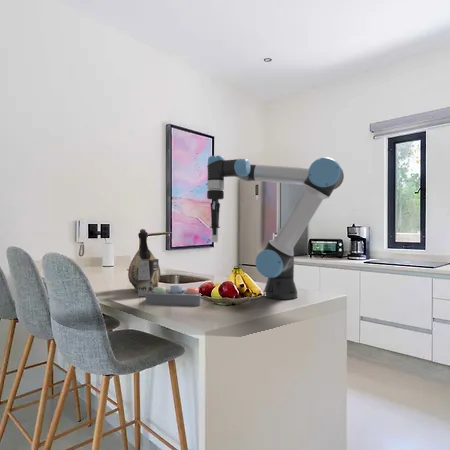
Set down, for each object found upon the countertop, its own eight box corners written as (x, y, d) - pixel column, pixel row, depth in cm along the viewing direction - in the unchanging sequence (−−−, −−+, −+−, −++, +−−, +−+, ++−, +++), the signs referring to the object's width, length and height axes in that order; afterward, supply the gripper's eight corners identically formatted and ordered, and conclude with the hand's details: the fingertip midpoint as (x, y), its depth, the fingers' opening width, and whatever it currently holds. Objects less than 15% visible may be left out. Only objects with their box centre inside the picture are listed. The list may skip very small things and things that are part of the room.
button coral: (199, 297, 148) (199, 287, 148) (197, 299, 144) (197, 289, 144) (188, 297, 149) (188, 287, 149) (185, 299, 144) (185, 289, 144)
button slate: (183, 294, 149) (183, 285, 149) (180, 297, 144) (180, 287, 144) (171, 294, 150) (172, 285, 150) (169, 296, 145) (169, 286, 145)
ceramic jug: (128, 288, 178) (128, 228, 178) (159, 287, 182) (159, 229, 182) (127, 294, 162) (128, 228, 162) (161, 293, 166) (162, 229, 166)
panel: (204, 299, 152) (204, 290, 152) (199, 305, 140) (199, 295, 140) (154, 298, 154) (154, 288, 154) (145, 303, 142) (145, 293, 142)
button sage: (166, 296, 150) (166, 286, 150) (163, 298, 145) (163, 288, 145) (155, 295, 150) (155, 286, 150) (152, 298, 145) (152, 288, 145)
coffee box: (151, 296, 156) (151, 260, 157) (137, 296, 158) (138, 260, 158) (158, 293, 165) (159, 258, 166) (145, 292, 167) (146, 258, 167)
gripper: (209, 191, 168) (208, 241, 167) (205, 188, 155) (204, 242, 155) (225, 191, 167) (224, 241, 167) (222, 188, 154) (221, 242, 154)
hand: (214, 242), depth 161 cm, fingers closed
